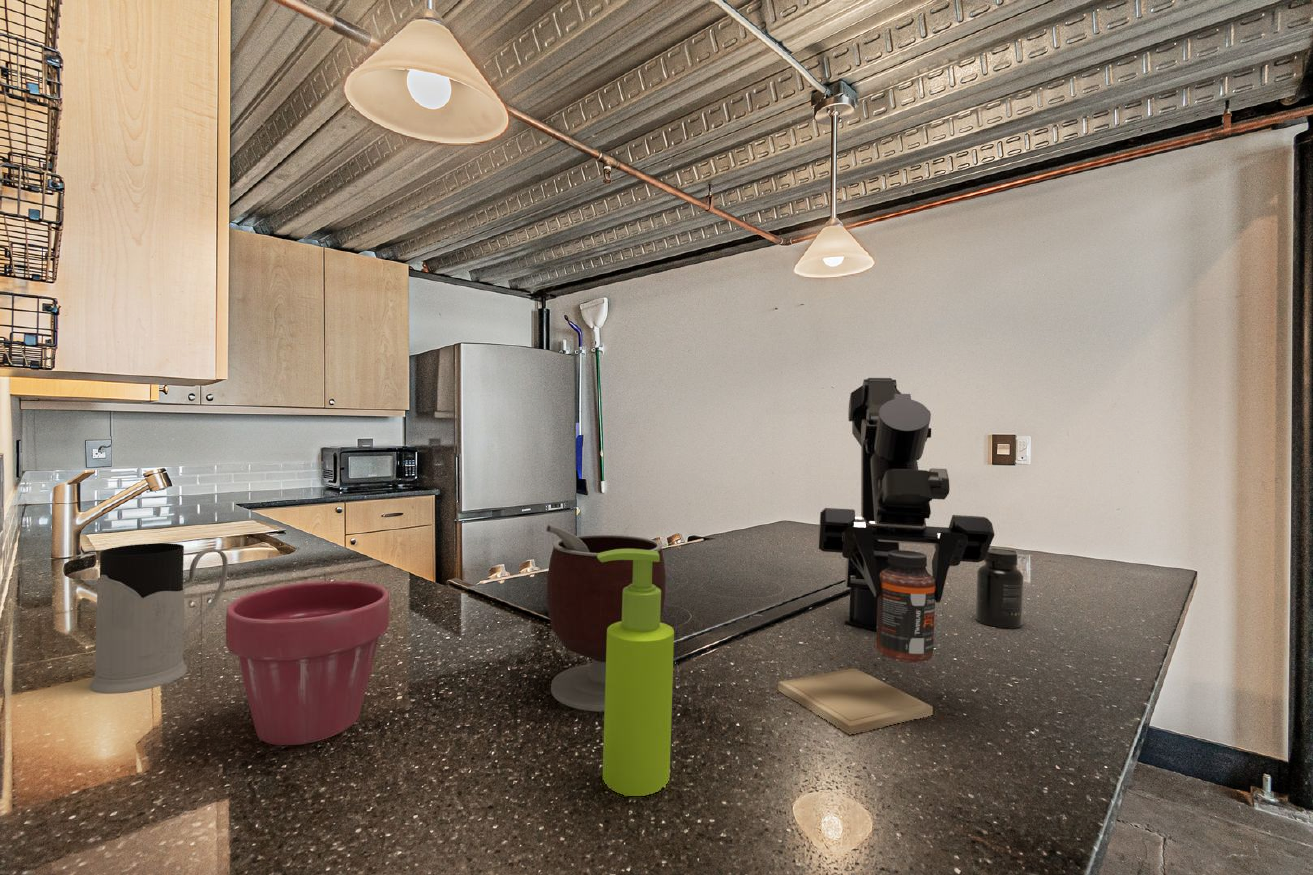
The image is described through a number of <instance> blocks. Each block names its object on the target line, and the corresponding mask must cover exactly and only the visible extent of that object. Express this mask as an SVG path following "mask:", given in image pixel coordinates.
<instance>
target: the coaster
mask: <svg viewBox="0 0 1313 875" xmlns="http://www.w3.org/2000/svg"><path fill="white" fill-rule="evenodd" d="M777 691H778V692H780V693H782V694H784V695H785V696H786V697H788V698H789V699H791V700H793V701H794V702H796V703H797V702H798V703H797V704H798V705H800V704H801V705H800V706H802V707H804V706H805V707H806V708H805V707H804V708H805V709H807V710H808V711H810V710H811V711H812V712H811V711H810V712H811V713H813V714H814V715H817V716H818V715H819V716H820V717H819V716H818V717H819V718H821V717H822V718H823V720H824V719H826V720H827V721H828V722H827V721H826V720H825V721H826V722H827V723H829V722H830V723H832V724H833V725H832V724H831V725H832V726H834V725H835V726H836V727H835V726H834V727H835V728H837V729H838V728H840V729H841V730H842V732H843V731H844V732H843V733H845V732H846V733H847V734H846V733H845V734H846V735H848V734H849V735H851V734H855V733H858V732H863V733H867V732H871V731H874V730H873V729H875V730H878V729H877V728H880V729H883V727H884V728H886V727H885V726H888V727H890V726H889V725H892V726H894V725H893V724H896V725H898V724H897V723H900V724H903V723H902V722H904V723H906V722H905V721H908V722H910V721H909V720H912V721H914V720H913V719H917V720H920V718H921V719H924V718H928V716H929V717H932V716H931V715H933V716H934V714H933V712H934V711H933V710H934V709H933V708H934V707H933V705H930V704H928V703H927V702H924V701H922V700H920V699H918V698H916V697H915V696H912V695H910V694H908V693H906V692H905V691H902V690H900V689H898V688H896V687H894V686H892V685H889V684H888V683H886V682H884V681H881V680H879V679H877V678H876V677H874V676H872V675H870V674H868V673H865V672H864V671H861V670H859V669H857V668H855V667H854V668H847V669H841V670H837V671H831V672H825V673H820V674H815V675H814V674H813V675H809V676H803V677H798V678H791V679H786V680H782V681H778V682H777ZM923 717H924V718H923ZM822 718H821V719H822ZM830 723H829V724H830ZM840 729H839V730H840ZM841 730H840V731H841ZM870 730H871V731H870ZM849 735H848V736H849ZM855 735H856V734H855ZM851 736H852V735H851Z"/></svg>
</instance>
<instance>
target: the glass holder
mask: <svg viewBox="0 0 1313 875" xmlns="http://www.w3.org/2000/svg"><path fill="white" fill-rule="evenodd" d="M184 549H185V546H184V545H183V544H179V543H172V542H171V543H170V542H168V543H165V542H163V543H162V542H159V543H158V542H157V543H156V542H155V543H139V544H129V545H121V546H115V547H109V548H107V549H104V550H102V551H100V552H99V553H100V554H99V577H97V581H96V582H97V586H96V588H97V589H96V590H97V591H96V592H97V594H96V595H97V596H96V624H95V625H96V626H95V628H96V632H95V633H96V634H95V669H94V671H95V673H94V675H93V678H92V680H91V682H90V684H89V687H88V688H89V689H90V690H91V691H93V692H95V693H99V694H123V693H132V692H138V691H144V690H148V689H153V688H156V687H157V688H158V687H160V686H164V685H166V684H168V683H172V682H174V681H176V680H178V679H180V678H181V677H183V676H185V675H186V673H187V672H188V667H187V665H186V663H185V661H184V641H185V640H186V638H188V636H190V634H191V633H192V632H193V631H194V630H195V629H196V628H197V627H198V626H199V625H200V624H201V622H202V621H204V619H205V618H206V617H207V616H208V615H209V613H211V611H213V609H214V607H216V606H217V603H218V601H219V599H220V598H221V595H222V593H223V591H224V589H225V586H226V582H227V578H228V569H229V564H228V563H229V562H228V557H227V555H226V553H225V552H224V551H222V550H221V549H216V548H206V549H204V550H201V551H200V552H198V553H197V554H196V555H195V556H194V558H192V561H191V563H190V566H189V572H188V573H189V575H188V580H187V582H186V583H185V584H184V558H185V557H184V553H185V550H184ZM210 552H215V553H218V554H219V556H220V557H221V560H222V561H221V563H222V570H221V576H220V581H219V584H218V587H217V590H216V591H215V594H214V596H213V598H212V599H211V600H210V601H211V602H210V603H209V604H208V605H207V607H206V608H205V609H204V611H203V612H202V613H201V614H200V615H199V616H198V617H197V618H196V620H194V621H193V622H192V624H191V625H190V626H189V627H188V628H187V629H186V630H184V625H185V593H186V592H185V589H188V588H189V587H191V586H192V585H193V584H194V582H195V580H196V570H197V566H198V563H199V561H201V560H200V559H201V558H203V556H204V555H205V554H207V553H210Z"/></svg>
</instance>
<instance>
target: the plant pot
mask: <svg viewBox="0 0 1313 875" xmlns="http://www.w3.org/2000/svg"><path fill="white" fill-rule="evenodd" d="M389 621H390V594H389V591H388V590H387V588H385V587H383V586H380V585H378V584H374V583H371V582H370V583H369V582H363V581H354V580H352V581H351V580H325V581H324V580H323V581H311V582H310V581H308V582H299V583H293V584H292V583H291V584H287V585H286V584H285V585H281V586H280V585H279V586H276V587H275V586H274V587H271V588H267V589H262V590H259V591H255V592H251V593H248V594H246V595H244V596H241V597H240V598H238V599H236V600H234V601H233V602H231V603H230V604H229V605H228V606H227V609H226V616H225V645H226V648H227V651H229V652H230V653H232V654H233V655H235V656H237V658H238V663H239V668H240V672H241V677H242V682H243V686H244V691H245V695H246V699H247V702H248V706H249V710H250V713H251V717H252V721H253V725H254V729H255V733H256V735H257V738H258V739H260V740H261V741H262V742H265V743H267V744H271V745H275V746H276V745H277V746H296V745H297V746H298V745H304V744H310V743H314V742H315V743H316V742H319V741H321V740H326V739H328V738H331V737H333V736H335V735H338V734H340V733H342V732H344V731H346V730H347V729H349V728H350V727H352V726H353V725H354V724H355V723H356V722H357V721H358V719H359V716H360V713H361V710H362V705H363V703H364V699H365V695H366V692H367V688H368V683H369V680H370V676H371V672H372V668H373V663H374V660H375V656H376V652H377V646H378V642H379V639H380V638H379V637H382V635H384V634H385V633H386V632H387V630H388V628H389V624H390V623H389Z"/></svg>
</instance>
